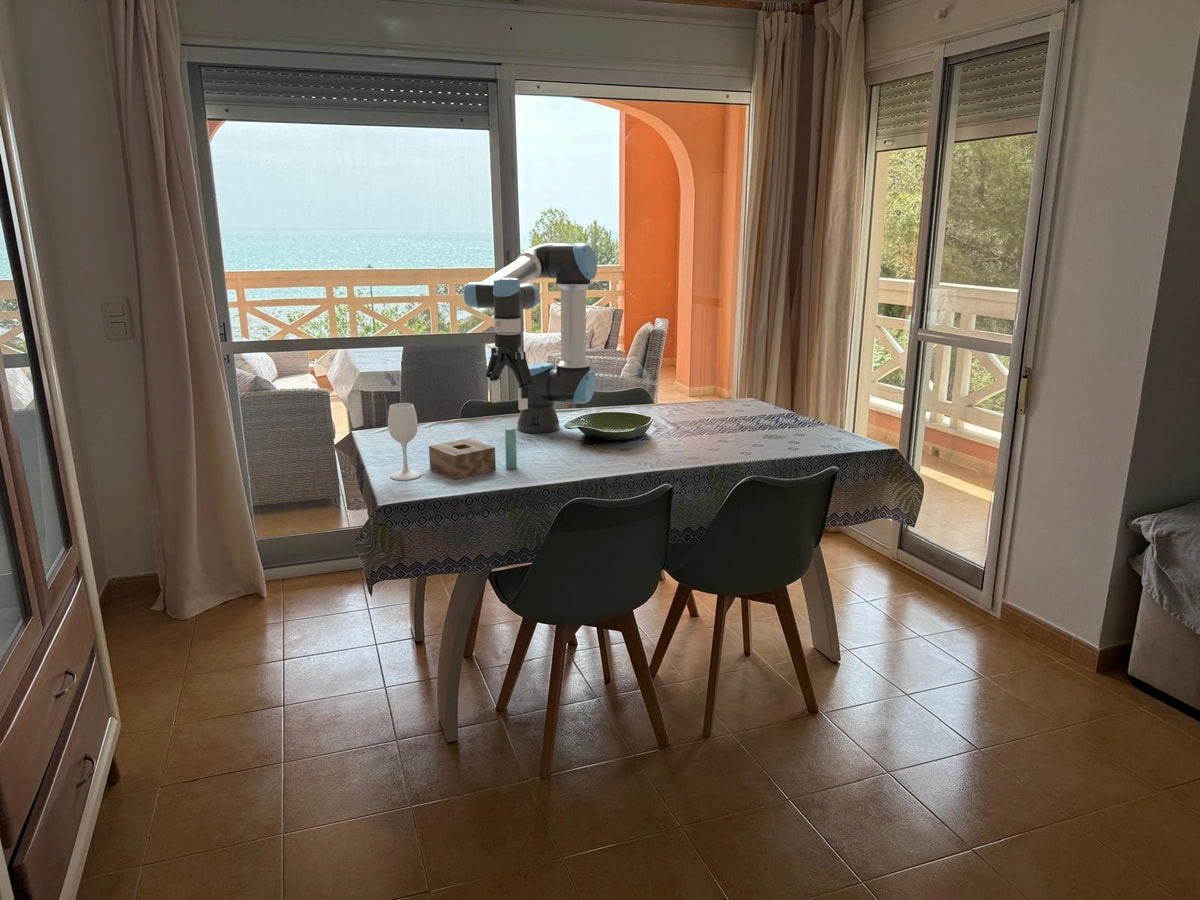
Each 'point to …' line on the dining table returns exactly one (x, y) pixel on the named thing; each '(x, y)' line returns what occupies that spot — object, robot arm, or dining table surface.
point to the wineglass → (403, 434)
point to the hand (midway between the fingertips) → (509, 405)
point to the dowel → (510, 448)
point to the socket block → (462, 458)
